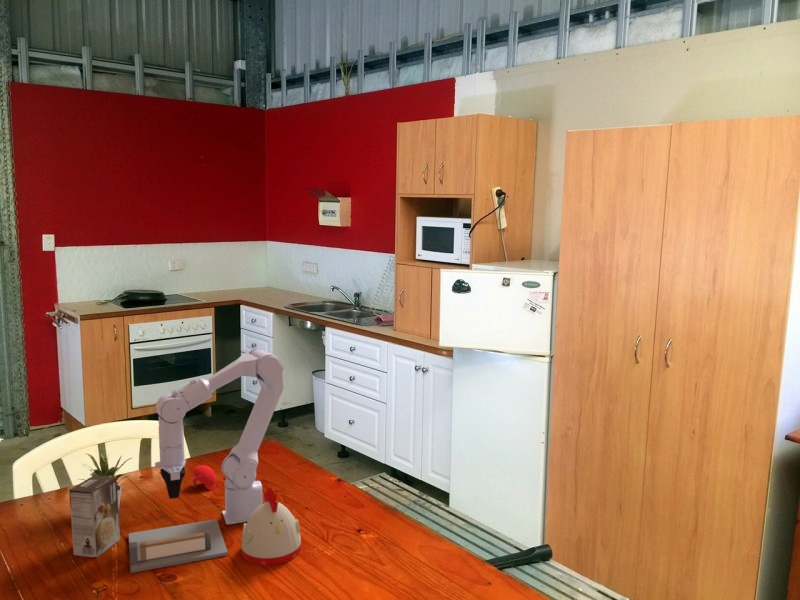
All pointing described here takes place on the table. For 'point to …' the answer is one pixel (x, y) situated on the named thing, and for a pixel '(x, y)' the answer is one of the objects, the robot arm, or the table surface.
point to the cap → (205, 477)
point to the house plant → (107, 471)
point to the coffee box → (94, 515)
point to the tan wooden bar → (172, 546)
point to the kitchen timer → (271, 533)
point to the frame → (210, 528)
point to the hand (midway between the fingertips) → (173, 497)
